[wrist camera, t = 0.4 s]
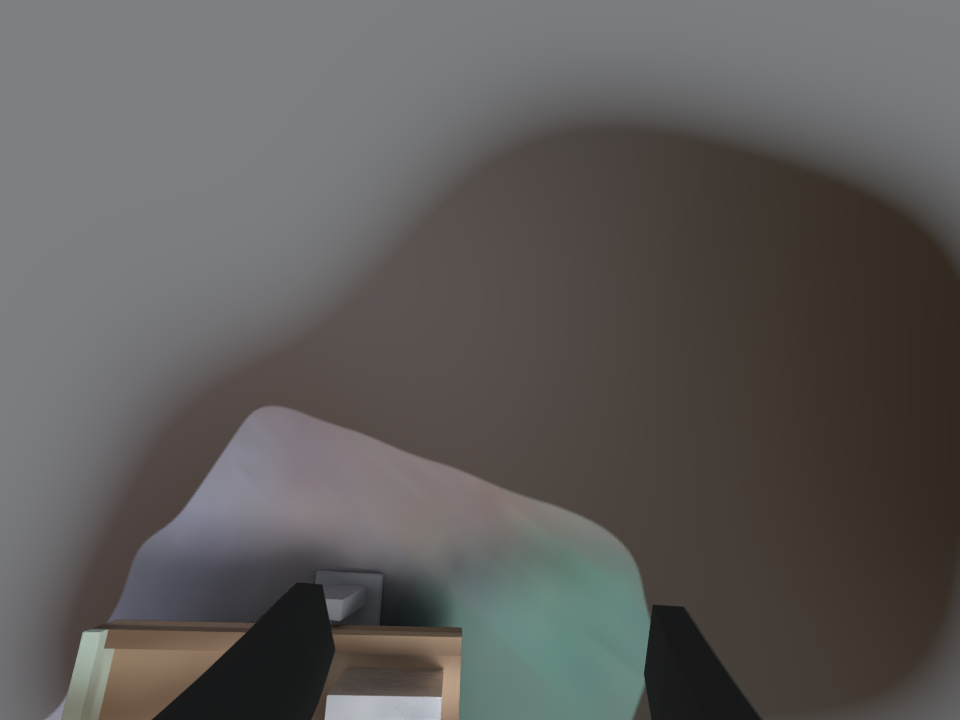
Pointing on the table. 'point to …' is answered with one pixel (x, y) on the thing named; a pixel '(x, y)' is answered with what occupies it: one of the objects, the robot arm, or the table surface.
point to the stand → (352, 596)
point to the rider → (386, 694)
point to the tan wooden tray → (198, 645)
